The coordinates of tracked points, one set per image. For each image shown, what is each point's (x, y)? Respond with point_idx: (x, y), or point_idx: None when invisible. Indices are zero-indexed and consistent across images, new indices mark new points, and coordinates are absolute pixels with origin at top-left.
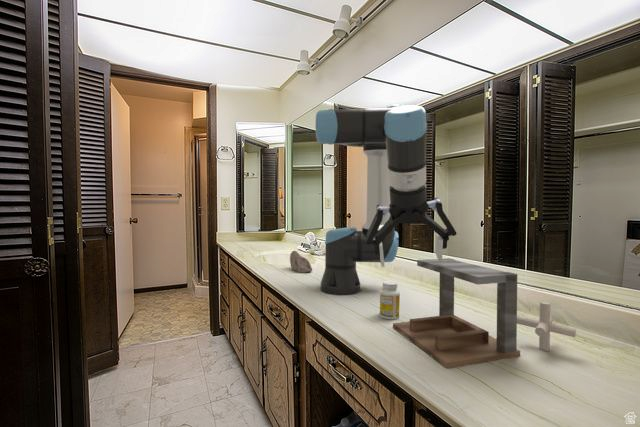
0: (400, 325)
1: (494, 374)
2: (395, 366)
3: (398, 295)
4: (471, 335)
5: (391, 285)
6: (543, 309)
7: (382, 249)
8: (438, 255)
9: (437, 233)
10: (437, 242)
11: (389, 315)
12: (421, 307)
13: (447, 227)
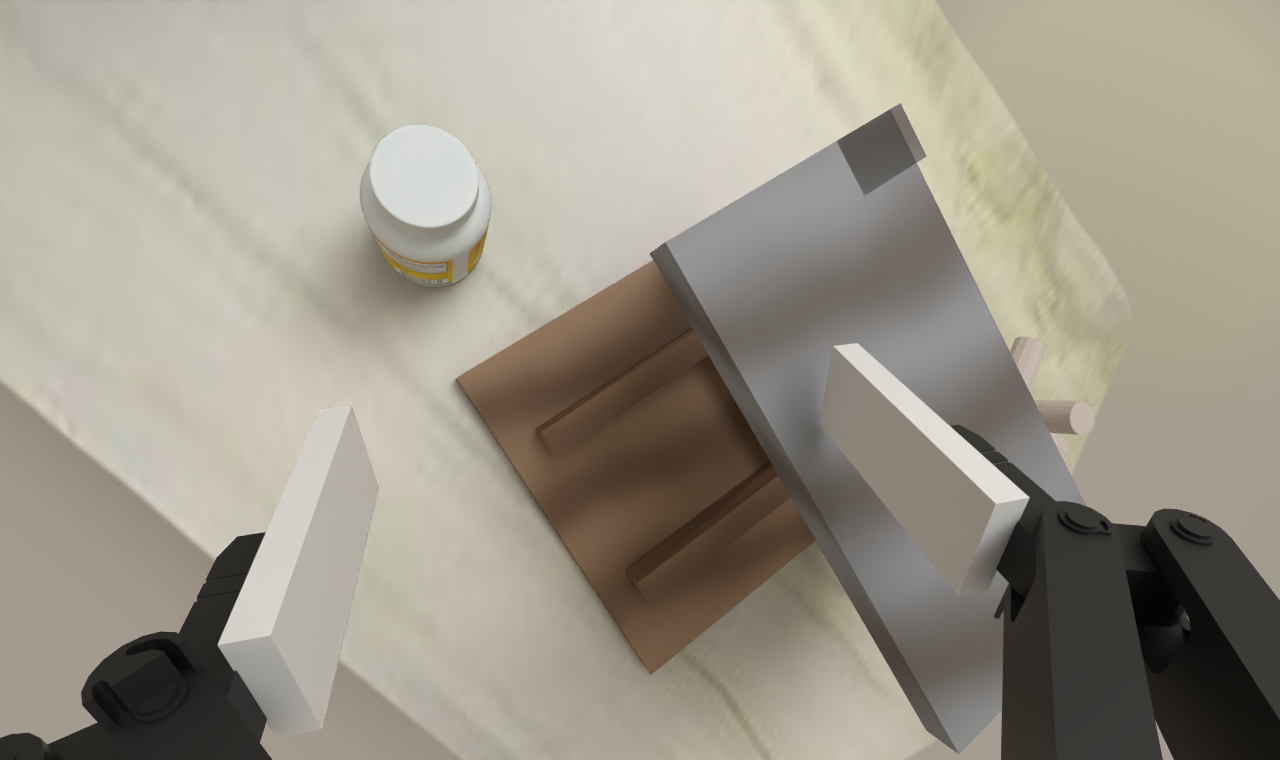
0: (493, 395)
1: (768, 642)
2: (480, 730)
3: (484, 232)
4: (763, 515)
5: (438, 229)
6: (1053, 430)
7: (330, 674)
8: (848, 442)
9: (1006, 676)
10: (924, 484)
11: (434, 283)
12: (597, 65)
13: (1168, 722)
